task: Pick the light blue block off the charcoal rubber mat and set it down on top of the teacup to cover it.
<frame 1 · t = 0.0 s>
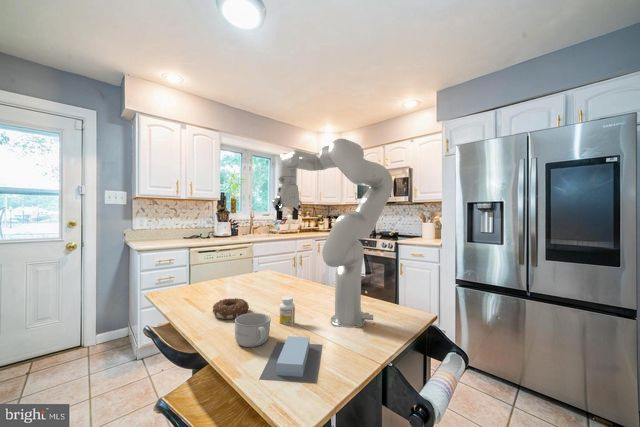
hand: (287, 219, 119), 37 cm above the kitchen island, tool pointing down, fingers open, 9 cm apart
supplement bottle: (287, 325, 96), on the kitchen island
light blue block: (294, 359, 72), point 1 cm above the kitchen island, touching mat
donut: (231, 314, 105), on the kitchen island
teacup: (253, 346, 81), on the kitchen island
mat: (294, 363, 72), on the kitchen island
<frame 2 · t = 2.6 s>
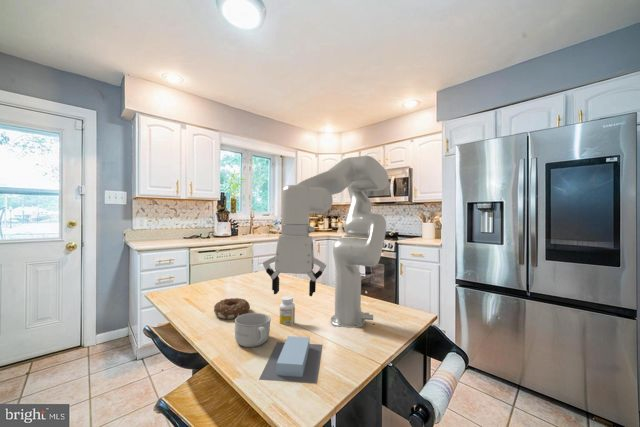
hand: (293, 293, 72), 19 cm above the kitchen island, tool pointing down, fingers open, 9 cm apart
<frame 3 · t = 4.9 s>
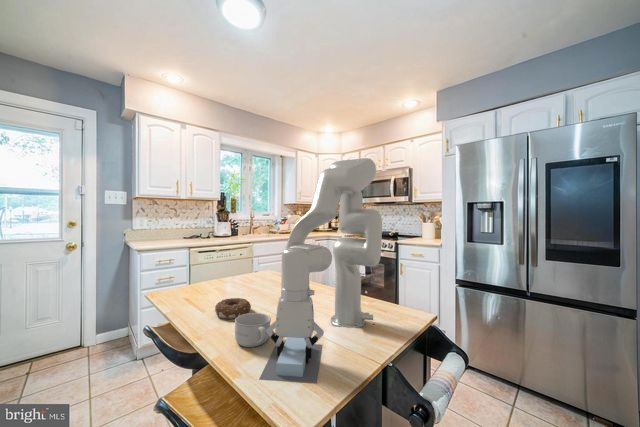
hand: (294, 358, 72), 1 cm above the kitchen island, tool pointing down, fingers closed on light blue block, 6 cm apart
light blue block: (294, 359, 72), point 1 cm above the kitchen island, touching gripper, mat
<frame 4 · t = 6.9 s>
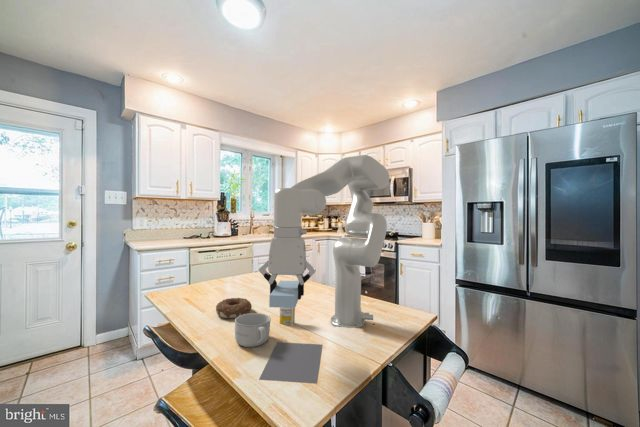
hand: (286, 297, 73), 18 cm above the kitchen island, tool pointing down, fingers closed on light blue block, 6 cm apart
light blue block: (287, 298, 73), point 17 cm above the kitchen island, touching gripper
when the fingers open (10 cm above the kitchen island, at t = 8.9 s): light blue block drops 1 cm, resting on teacup.
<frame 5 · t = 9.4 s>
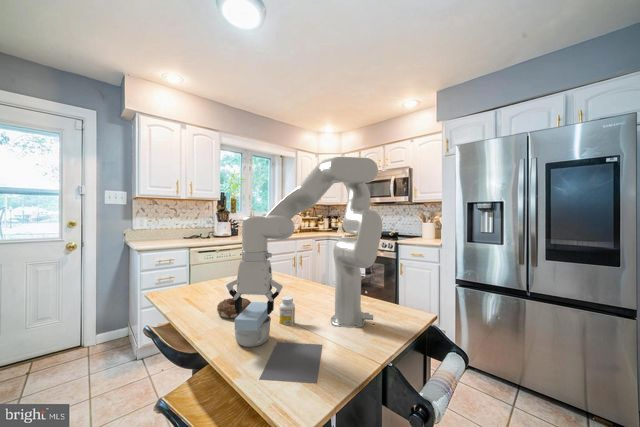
hand: (254, 312, 81), 10 cm above the kitchen island, tool pointing down, fingers open, 9 cm apart
light blue block: (254, 320, 81), point 8 cm above the kitchen island, touching teacup
teacup: (253, 346, 81), on the kitchen island, touching light blue block
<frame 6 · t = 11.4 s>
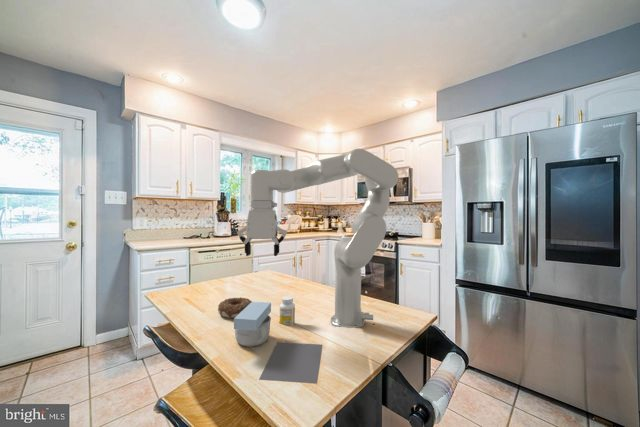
hand: (262, 255, 92), 26 cm above the kitchen island, tool pointing down, fingers open, 9 cm apart
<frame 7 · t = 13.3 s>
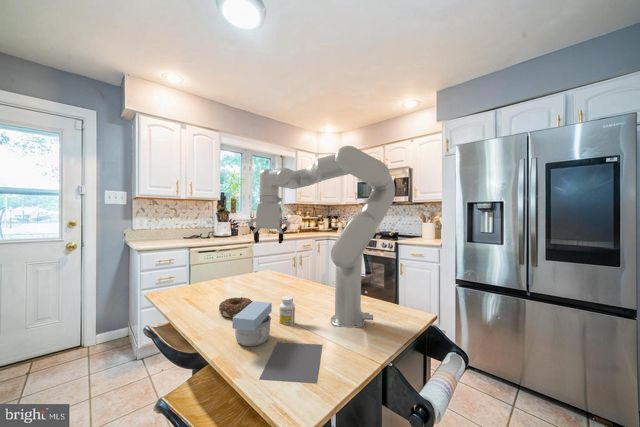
hand: (268, 242, 107), 28 cm above the kitchen island, tool pointing down, fingers open, 9 cm apart
at the end: light blue block 0.3 cm from the teacup (horizontally); light blue block point 7.9 cm above the kitchen island; light blue block tilted 0° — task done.
